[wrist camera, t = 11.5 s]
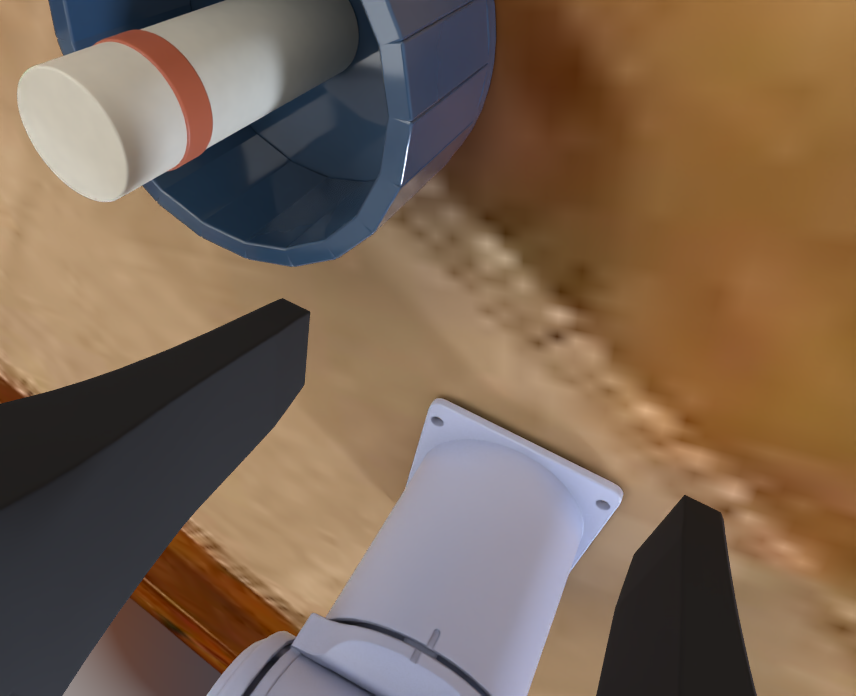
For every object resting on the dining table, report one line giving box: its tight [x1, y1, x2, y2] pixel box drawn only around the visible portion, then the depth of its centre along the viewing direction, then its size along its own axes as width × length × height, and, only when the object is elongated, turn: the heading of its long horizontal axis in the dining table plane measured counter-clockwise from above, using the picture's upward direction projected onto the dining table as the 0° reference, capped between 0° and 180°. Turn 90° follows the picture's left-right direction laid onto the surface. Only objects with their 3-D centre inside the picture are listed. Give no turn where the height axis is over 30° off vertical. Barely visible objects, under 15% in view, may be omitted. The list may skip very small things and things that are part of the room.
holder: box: [48, 0, 496, 267], centre depth 17 cm, size 10×10×5 cm
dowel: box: [17, 0, 359, 202], centre depth 15 cm, size 3×3×8 cm
